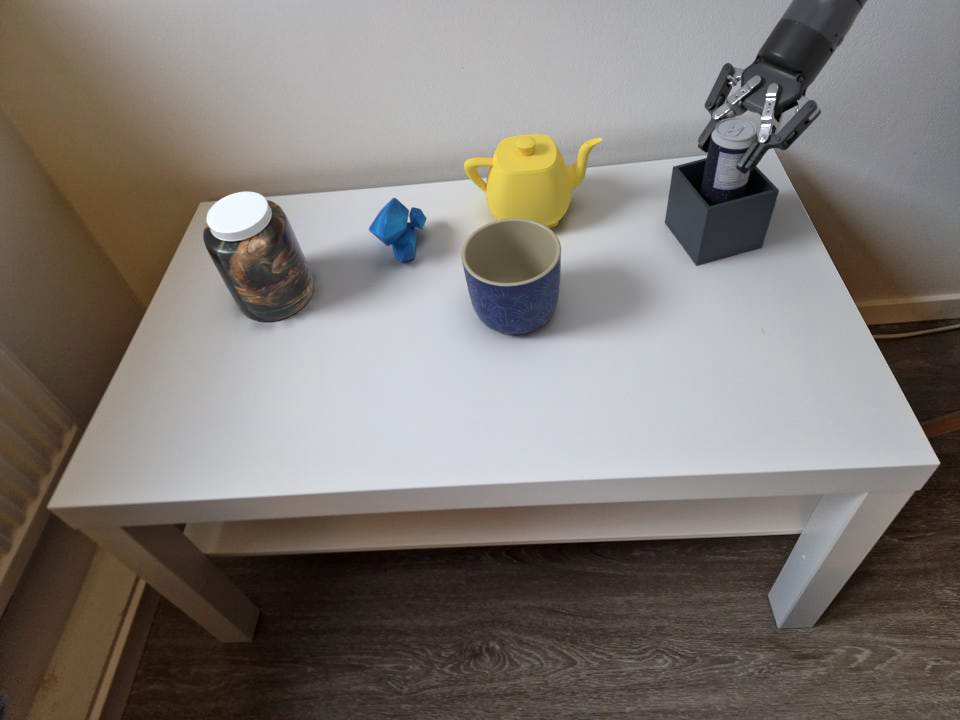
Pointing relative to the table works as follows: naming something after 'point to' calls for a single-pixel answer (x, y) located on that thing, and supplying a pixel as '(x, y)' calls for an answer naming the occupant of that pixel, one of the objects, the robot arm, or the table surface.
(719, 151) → the beverage can
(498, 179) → the teapot
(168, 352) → the table surface
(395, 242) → the crystal
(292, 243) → the jar
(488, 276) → the planter
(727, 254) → the trash bin
